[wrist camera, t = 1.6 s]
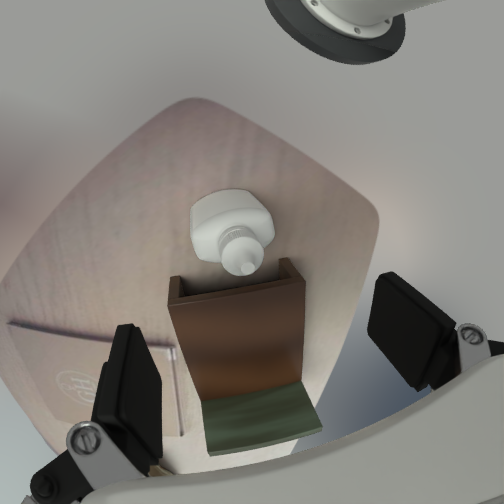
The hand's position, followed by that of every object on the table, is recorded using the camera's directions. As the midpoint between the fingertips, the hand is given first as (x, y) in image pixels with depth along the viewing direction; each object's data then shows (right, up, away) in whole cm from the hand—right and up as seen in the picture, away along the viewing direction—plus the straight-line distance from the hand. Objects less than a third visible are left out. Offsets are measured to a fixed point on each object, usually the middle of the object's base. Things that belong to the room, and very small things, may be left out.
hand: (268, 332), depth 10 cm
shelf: (-2, -5, +20) cm, 21 cm away
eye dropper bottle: (-3, +7, +15) cm, 17 cm away
